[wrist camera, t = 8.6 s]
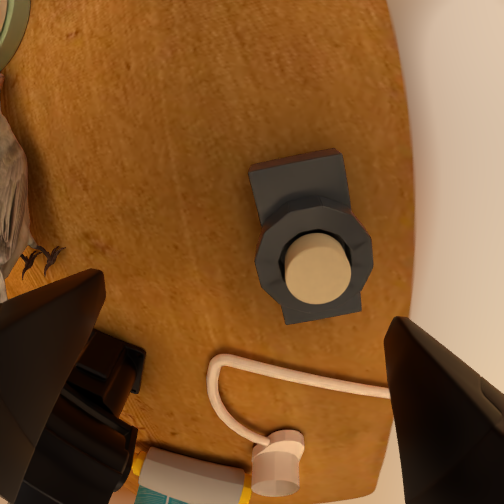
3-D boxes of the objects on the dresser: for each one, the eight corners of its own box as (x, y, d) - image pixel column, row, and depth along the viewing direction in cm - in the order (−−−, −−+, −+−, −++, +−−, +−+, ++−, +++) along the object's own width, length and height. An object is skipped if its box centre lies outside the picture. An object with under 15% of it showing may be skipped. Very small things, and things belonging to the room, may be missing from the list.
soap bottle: (254, 498, 27) (98, 448, 27) (237, 526, 28) (97, 481, 28) (256, 460, 34) (120, 417, 34) (240, 491, 35) (116, 451, 35)
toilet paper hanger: (214, 344, 24) (182, 442, 31) (204, 391, 20) (173, 478, 26) (422, 388, 26) (343, 469, 32) (437, 427, 21) (347, 501, 28)
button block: (362, 291, 21) (376, 327, 18) (277, 307, 22) (276, 345, 19) (344, 146, 17) (361, 157, 14) (241, 166, 18) (232, 182, 15)
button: (347, 280, 17) (354, 298, 16) (290, 291, 18) (291, 309, 16) (341, 226, 16) (347, 240, 14) (279, 238, 16) (279, 253, 15)
